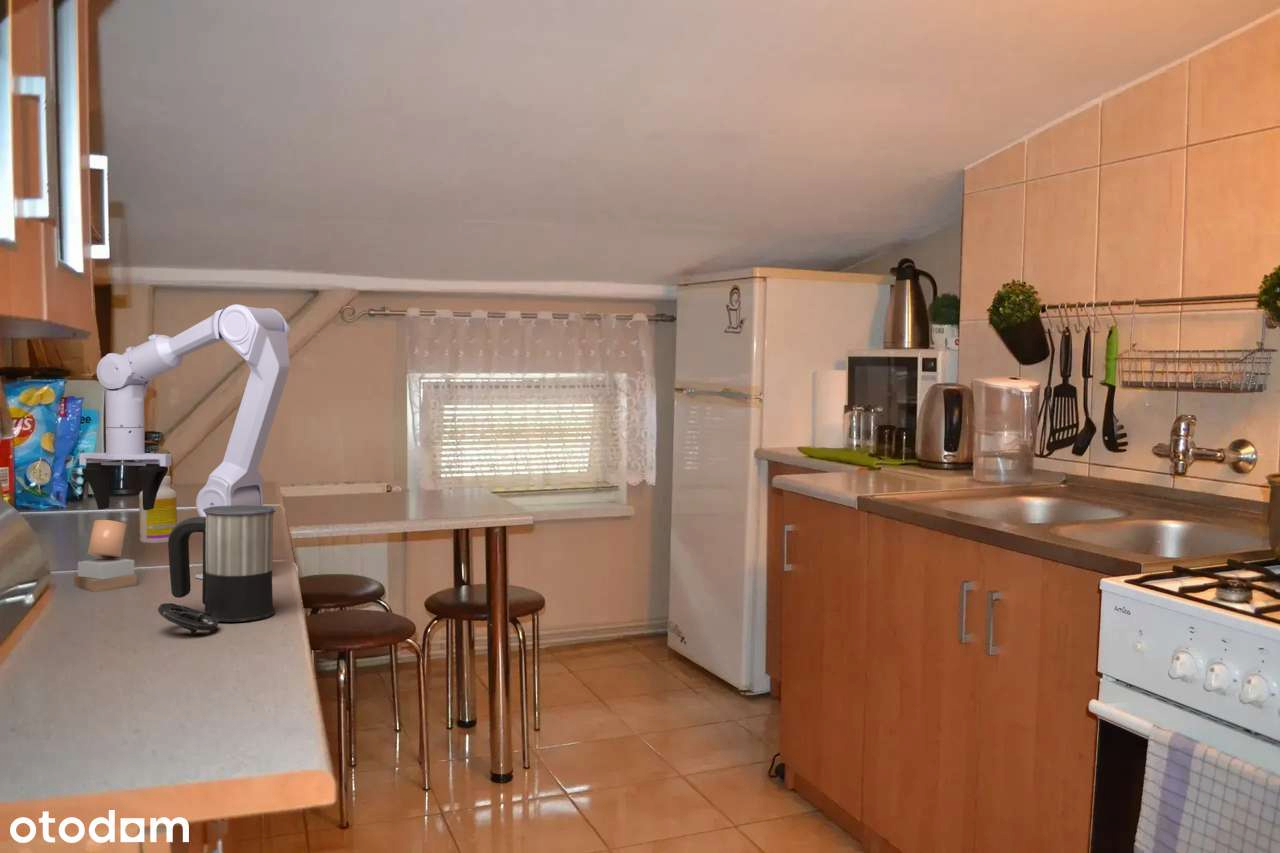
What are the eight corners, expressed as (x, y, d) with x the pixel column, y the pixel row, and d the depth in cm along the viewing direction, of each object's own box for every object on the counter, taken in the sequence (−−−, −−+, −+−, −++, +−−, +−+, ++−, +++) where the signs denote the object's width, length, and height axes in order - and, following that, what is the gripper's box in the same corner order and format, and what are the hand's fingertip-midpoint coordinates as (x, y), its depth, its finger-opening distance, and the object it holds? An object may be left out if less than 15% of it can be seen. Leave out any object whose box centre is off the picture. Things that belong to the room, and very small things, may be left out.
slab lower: (137, 589, 159) (137, 574, 159) (94, 595, 154) (94, 581, 154) (116, 583, 163) (116, 569, 163) (74, 589, 158) (73, 575, 158)
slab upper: (134, 574, 160) (134, 560, 160) (102, 579, 155) (102, 565, 155) (110, 570, 162) (110, 557, 162) (78, 576, 157) (78, 561, 157)
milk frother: (275, 606, 146) (275, 503, 146) (277, 632, 131) (276, 517, 131) (166, 613, 141) (165, 506, 141) (154, 640, 127) (153, 521, 126)
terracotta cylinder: (118, 553, 157) (124, 521, 159) (85, 550, 156) (92, 518, 158) (122, 559, 161) (127, 528, 163) (89, 556, 160) (95, 525, 162)
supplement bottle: (184, 541, 203) (183, 476, 202) (152, 545, 197) (152, 478, 196) (163, 538, 206) (163, 474, 206) (132, 542, 201) (131, 476, 200)
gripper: (179, 426, 173) (180, 506, 174) (96, 425, 174) (96, 505, 175) (158, 428, 166) (159, 512, 167) (71, 427, 167) (72, 510, 168)
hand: (125, 509), depth 170 cm, fingers open, 7 cm apart
